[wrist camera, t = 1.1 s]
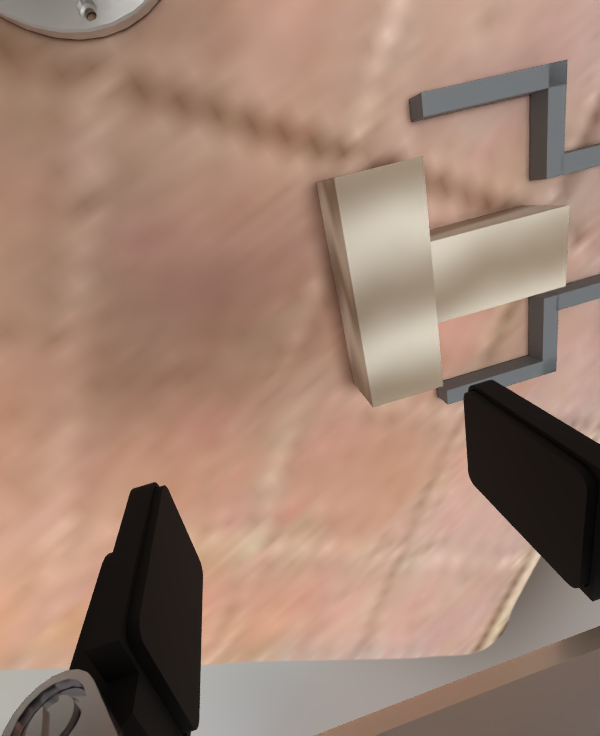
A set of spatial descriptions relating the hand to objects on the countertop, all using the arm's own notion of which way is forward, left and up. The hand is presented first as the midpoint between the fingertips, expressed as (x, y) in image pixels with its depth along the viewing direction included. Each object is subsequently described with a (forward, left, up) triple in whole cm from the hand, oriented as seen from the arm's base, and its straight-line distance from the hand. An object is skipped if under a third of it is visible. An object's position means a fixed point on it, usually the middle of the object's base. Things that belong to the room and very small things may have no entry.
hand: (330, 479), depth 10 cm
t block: (0, +13, -18) cm, 22 cm away
